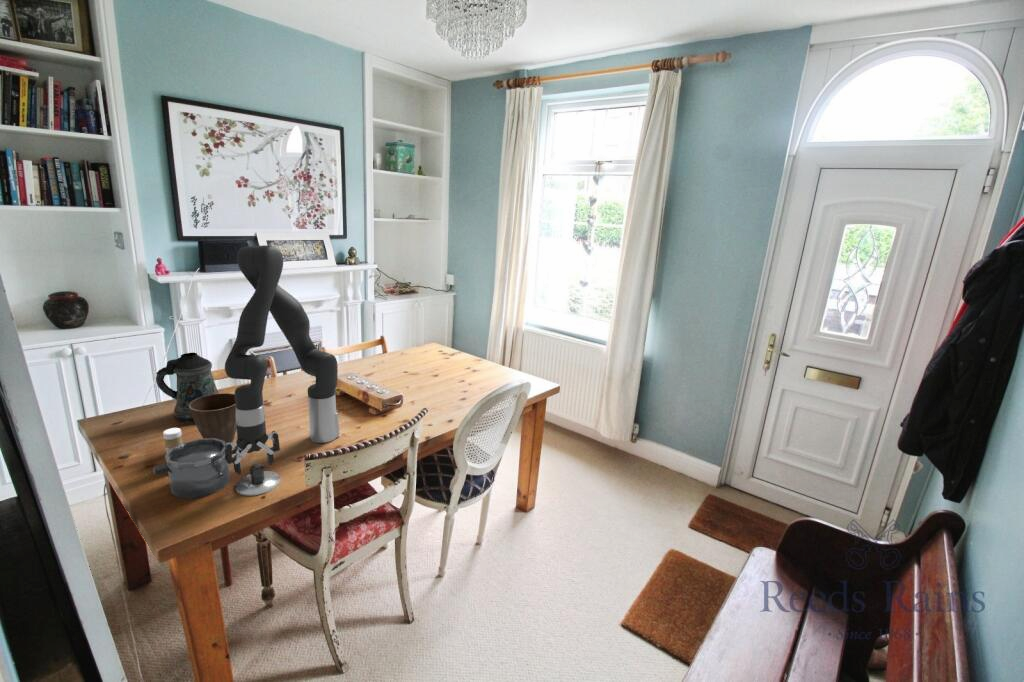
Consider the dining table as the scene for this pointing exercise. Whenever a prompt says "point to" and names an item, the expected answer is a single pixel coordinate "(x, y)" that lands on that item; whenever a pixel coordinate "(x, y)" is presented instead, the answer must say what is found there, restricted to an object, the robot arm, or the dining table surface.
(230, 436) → the plant pot
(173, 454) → the pot
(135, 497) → the dining table surface
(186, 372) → the beer stein
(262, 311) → the robot arm
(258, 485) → the lid
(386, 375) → the dining table surface
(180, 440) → the sprinkles bottle
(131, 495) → the dining table surface
